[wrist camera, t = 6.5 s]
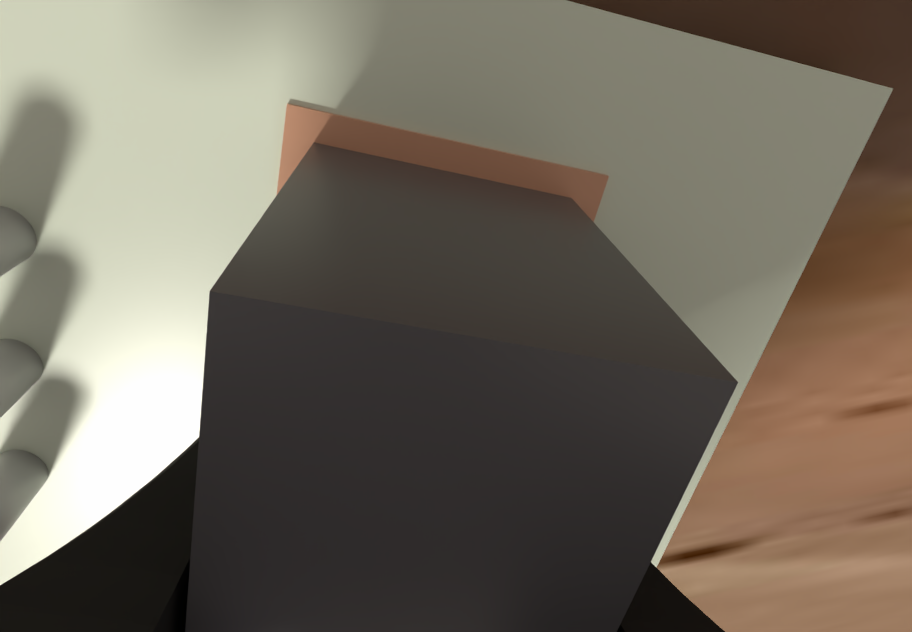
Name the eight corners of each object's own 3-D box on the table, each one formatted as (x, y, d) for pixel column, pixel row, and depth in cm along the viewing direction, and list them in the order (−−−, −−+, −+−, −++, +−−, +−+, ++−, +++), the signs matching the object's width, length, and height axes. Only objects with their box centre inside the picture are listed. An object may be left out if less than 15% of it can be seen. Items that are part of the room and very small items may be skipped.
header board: (558, 690, 19) (593, 845, 16) (-13, 645, 17) (-129, 820, 13) (837, 79, 12) (1026, 109, 8) (-112, -175, 9) (-441, -295, 6)
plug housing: (419, 684, 16) (426, 1021, 11) (243, 670, 15) (156, 1025, 10) (571, 197, 11) (738, 382, 5) (313, 142, 10) (208, 290, 5)
